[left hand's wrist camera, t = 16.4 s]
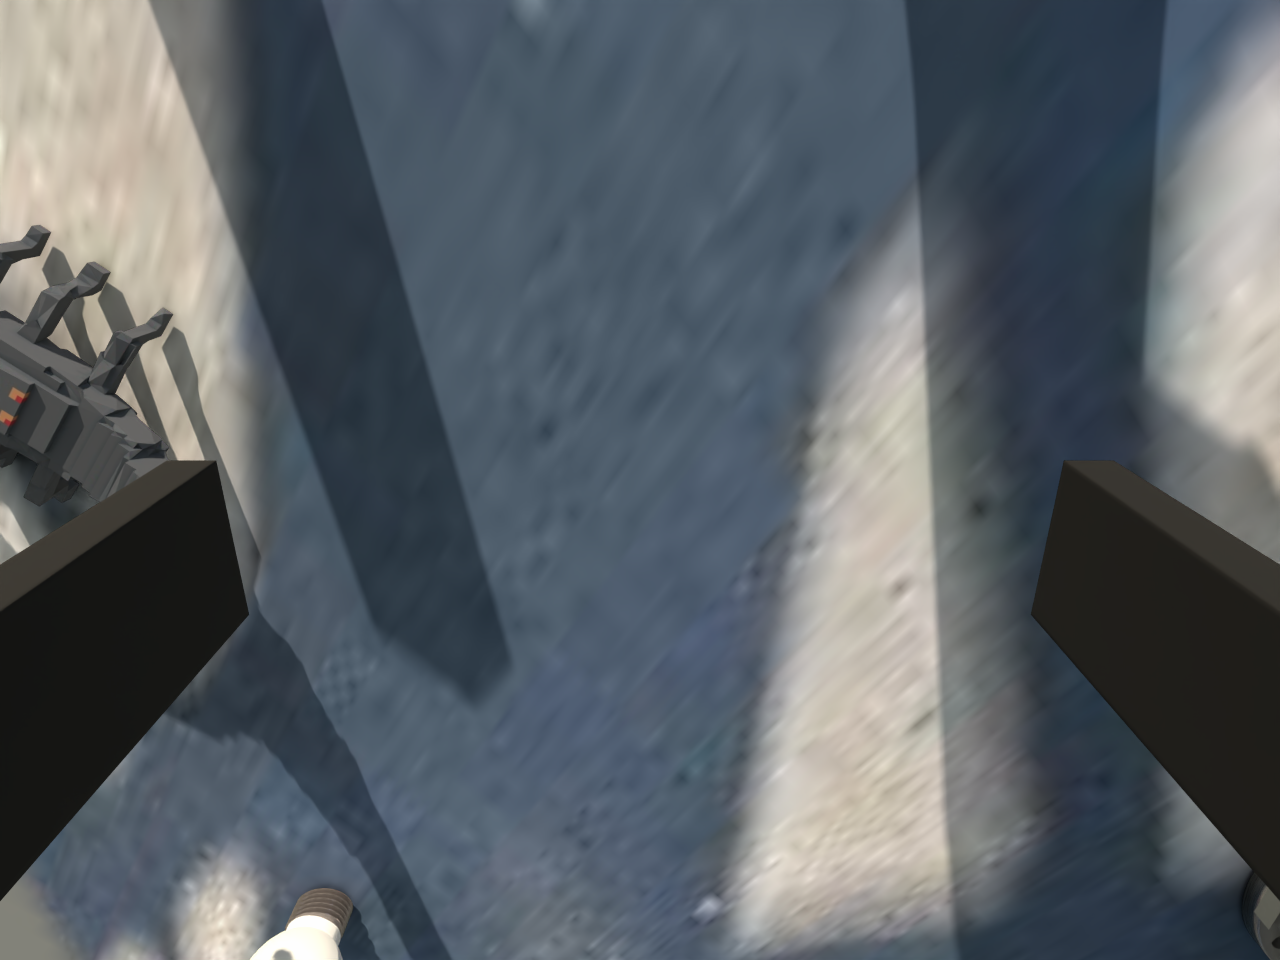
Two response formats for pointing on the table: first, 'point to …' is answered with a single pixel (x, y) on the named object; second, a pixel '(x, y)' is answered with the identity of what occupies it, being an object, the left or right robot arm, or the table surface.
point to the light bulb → (311, 928)
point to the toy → (70, 393)
